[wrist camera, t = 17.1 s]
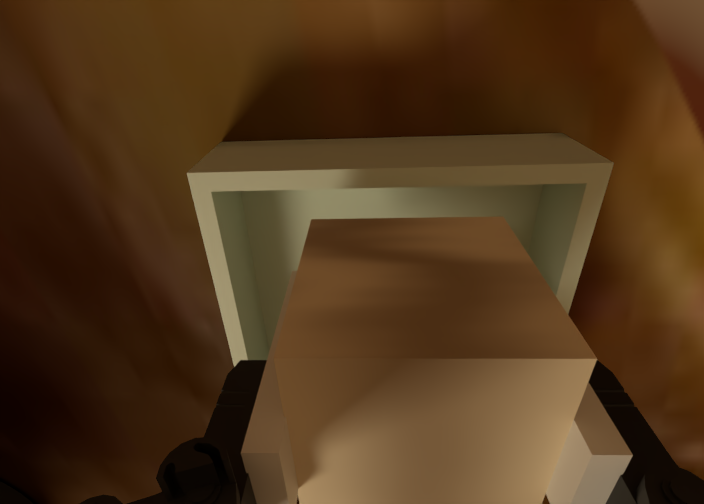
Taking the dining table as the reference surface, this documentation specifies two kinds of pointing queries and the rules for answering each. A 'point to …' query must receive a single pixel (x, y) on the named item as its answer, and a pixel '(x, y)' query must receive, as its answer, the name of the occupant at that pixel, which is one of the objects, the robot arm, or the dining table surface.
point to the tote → (383, 206)
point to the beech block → (426, 364)
